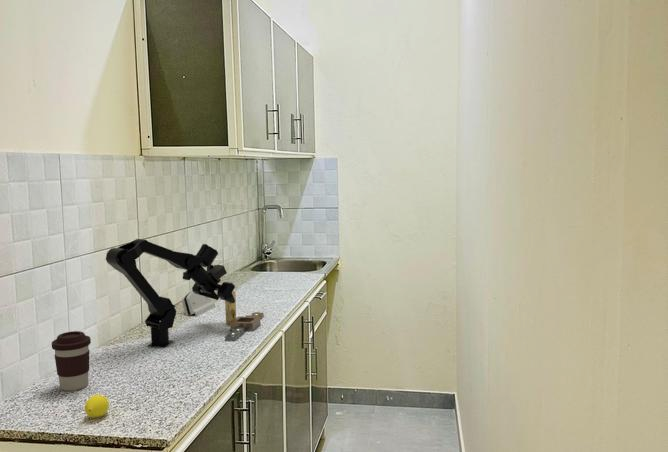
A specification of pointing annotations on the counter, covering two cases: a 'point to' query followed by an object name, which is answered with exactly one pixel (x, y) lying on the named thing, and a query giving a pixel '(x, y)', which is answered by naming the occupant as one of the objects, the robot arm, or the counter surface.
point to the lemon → (96, 406)
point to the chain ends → (243, 325)
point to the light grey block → (196, 304)
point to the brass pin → (230, 310)
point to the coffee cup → (72, 359)
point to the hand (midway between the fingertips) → (226, 300)
